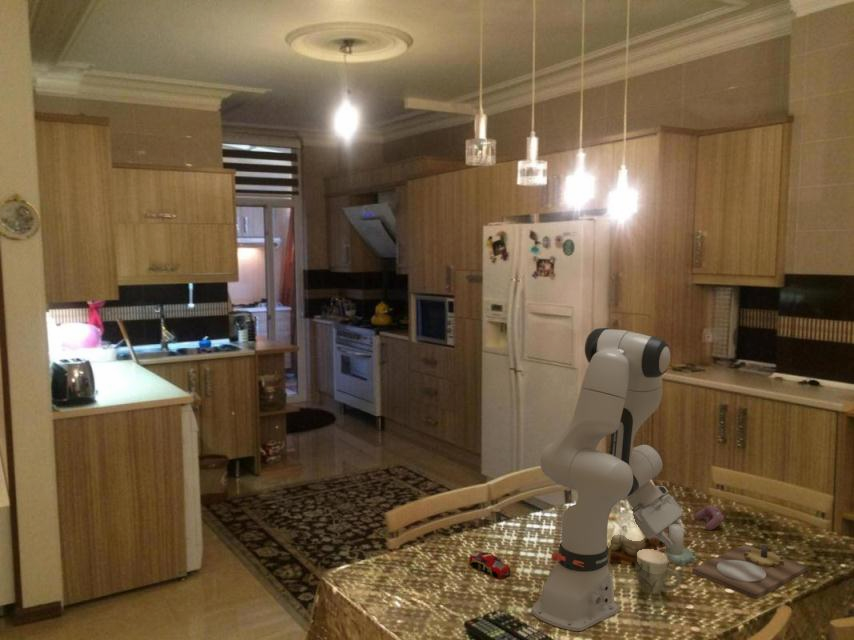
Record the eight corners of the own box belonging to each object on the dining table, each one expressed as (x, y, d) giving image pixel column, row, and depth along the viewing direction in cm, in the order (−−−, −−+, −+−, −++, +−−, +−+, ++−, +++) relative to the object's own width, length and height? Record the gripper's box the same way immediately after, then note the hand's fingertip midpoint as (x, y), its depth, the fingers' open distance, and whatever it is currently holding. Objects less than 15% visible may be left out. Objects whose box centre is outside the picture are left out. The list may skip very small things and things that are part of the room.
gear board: (756, 599, 175) (757, 578, 175) (692, 572, 190) (692, 553, 189) (807, 570, 190) (808, 551, 190) (744, 548, 205) (745, 530, 204)
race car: (514, 576, 190) (514, 561, 189) (500, 582, 186) (500, 567, 186) (480, 559, 200) (480, 546, 199) (466, 565, 196) (466, 551, 196)
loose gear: (687, 569, 192) (688, 537, 191) (648, 558, 199) (649, 527, 198) (701, 555, 200) (702, 525, 199) (664, 545, 207) (665, 516, 206)
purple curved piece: (717, 535, 218) (728, 516, 217) (704, 529, 218) (715, 510, 217) (705, 523, 228) (715, 504, 227) (692, 517, 227) (703, 498, 227)
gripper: (637, 504, 195) (671, 547, 189) (667, 485, 210) (699, 524, 204) (622, 515, 198) (655, 558, 192) (652, 496, 213) (683, 535, 208)
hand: (678, 541), depth 199 cm, fingers open, 8 cm apart
